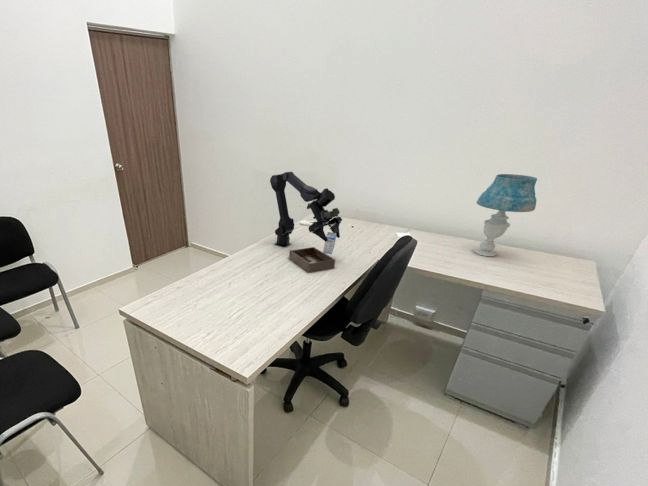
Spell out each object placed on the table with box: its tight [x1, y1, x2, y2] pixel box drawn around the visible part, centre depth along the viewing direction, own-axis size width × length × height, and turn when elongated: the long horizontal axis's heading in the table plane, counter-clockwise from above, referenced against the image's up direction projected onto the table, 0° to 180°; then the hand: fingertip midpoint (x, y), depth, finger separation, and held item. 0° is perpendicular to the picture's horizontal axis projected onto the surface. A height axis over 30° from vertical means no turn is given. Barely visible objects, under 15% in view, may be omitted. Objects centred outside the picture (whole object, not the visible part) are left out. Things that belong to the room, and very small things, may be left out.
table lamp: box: [473, 173, 538, 257], centre depth 169 cm, size 24×24×40 cm
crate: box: [288, 246, 336, 273], centre depth 167 cm, size 19×15×4 cm
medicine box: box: [322, 231, 337, 255], centre depth 163 cm, size 8×4×9 cm, turn 157°
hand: (332, 239), depth 161 cm, fingers closed on medicine box, 9 cm apart
